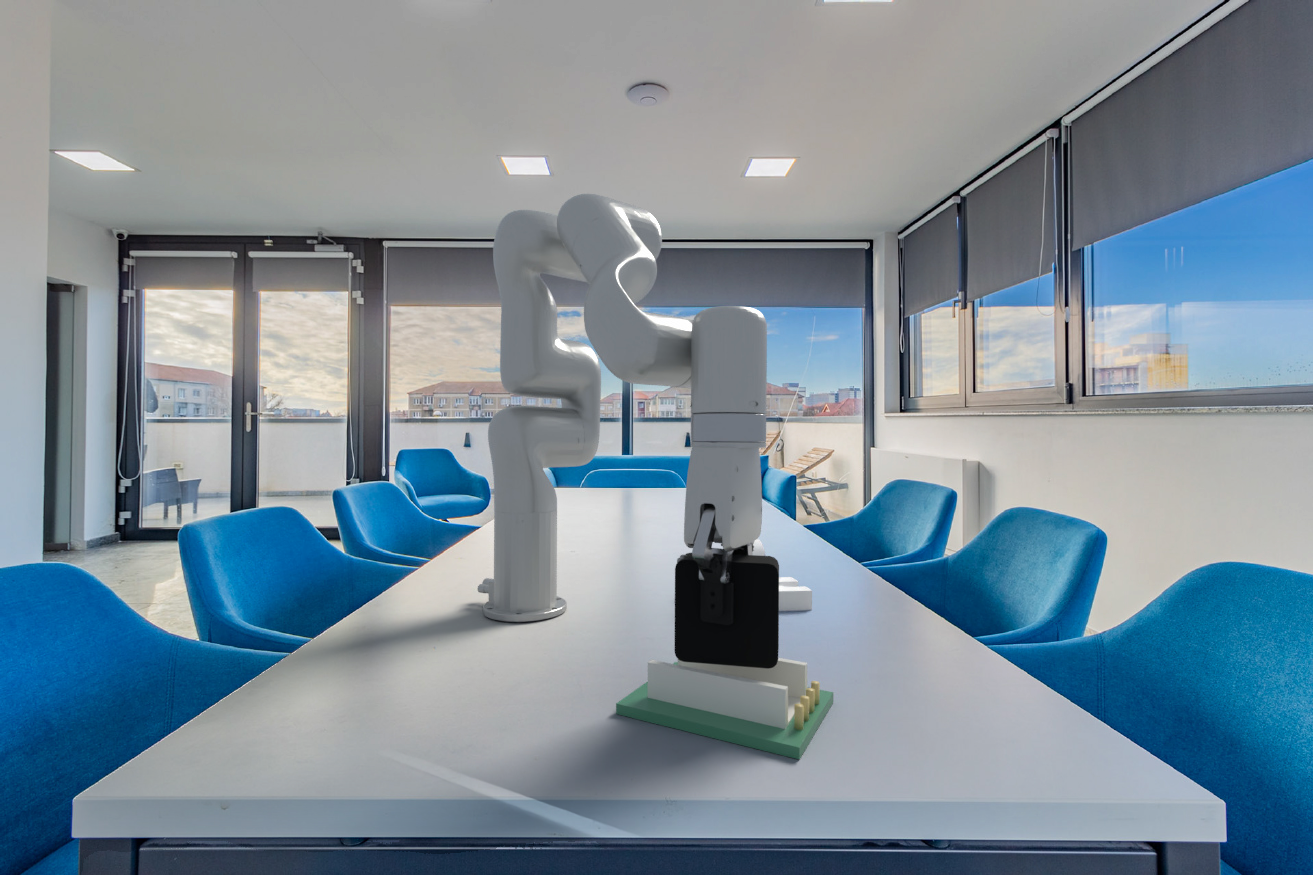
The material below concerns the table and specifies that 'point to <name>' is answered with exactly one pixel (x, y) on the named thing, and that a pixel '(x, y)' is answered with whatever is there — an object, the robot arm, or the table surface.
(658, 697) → the board
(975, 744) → the table surface
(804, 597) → the white bracket
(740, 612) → the electronic device
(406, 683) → the table surface
